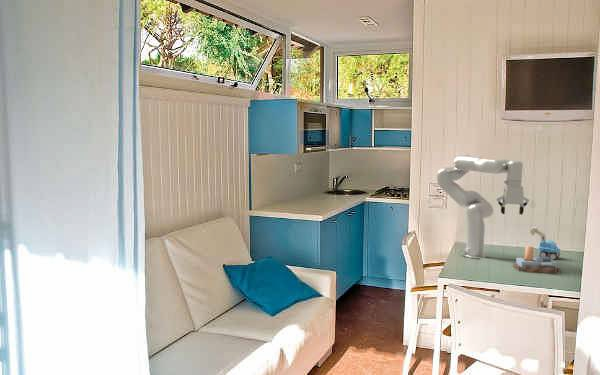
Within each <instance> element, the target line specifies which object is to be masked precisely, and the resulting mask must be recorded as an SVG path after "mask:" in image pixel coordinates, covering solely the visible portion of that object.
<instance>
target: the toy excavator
mask: <svg viewBox="0 0 600 375" xmlns="http://www.w3.org/2000/svg"><path fill="white" fill-rule="evenodd" d="M529 233H530V235H531V236H534V235H535V234H537V235H539V236H540V243H539V246H538V251H540V252H539V257H540V256H547V257H549V258H551V259H552V260H553V261H555V260H556V259H557V258H559V257H560V254H561V249H560V248H559V247H558V246H557V243H556V242H555V241H554V240H552V239H546V234H545V232H544V231H541V230H539V228H538V227H537V226H535V227H534V226H533V227H532V228H531V229H530V232H529Z"/></svg>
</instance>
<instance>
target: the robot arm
mask: <svg viewBox="0 0 600 375" xmlns="http://www.w3.org/2000/svg"><path fill="white" fill-rule="evenodd" d="M523 166H524V165H523V162H522V161H520V160H508V159H485V158H482V157H481V156H473V155H468V154H465V155H458V156H456V157H455V158H454V159H453V166H449V167H446V166H445V167H443V168H441V169H439V170H438V172H437V174H436V181H437V184H438V186H439V187H440V189H441V190H442V191H444V192H445V193H446V194H447V195H448V197H450V198H451V199H452V200H453V201H454V202H455V203H457V205H459V206H460V207H462V208H467V210H466V218H467V233H466V247H464V248H458V249H457V252H458V253H461V254H463V256H464V257H465V258H469V259H475V260H476V259H479V260H480V259H485V258H487V256H486V254H485V253H484V247H485V230H486V229H485V228H486V225H485V221H484V219H487V218H490V217H491V216H492V215H493V213H494V207H493V205H492V204H491V203H490V202H489V201H487V199H485V197H484V196H482V195H481V194H480V193H478V192H477V191H475V190H465V189H464V188H463V187H461V185H459V184H458V183H456V182H455V181H458V180H461V179H462V178H463V177H464V176H466V175H467V174H468V173H469V172H472V171H473V172H479V173H485V174H496V175H497V174H506V180H504V181H503V183H504V184H506V185H505V186H504V188H503V194H502V196H500V197H497V198H496V201H497V204H498V205H499V206H500V213H501V214H502V215H505V212H506V207H505V206H506V205H519V206H520V207H519V211H518V212H519V215H521V216H522V215H523V213H524V210H525V209H524V208H525V207H526V206H527V205H528V204H529V202H530V199H529V198H527V197H525V196H524V194H525V193H524V187H523V185H522V180H523ZM501 200H502V202H501Z"/></svg>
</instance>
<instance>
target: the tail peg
mask: <svg viewBox="0 0 600 375" xmlns="http://www.w3.org/2000/svg"><path fill="white" fill-rule="evenodd" d="M534 251H535V247H534V246H532V245H531V246H530V245H526V246H525V252H524V258H525V261H533V257H534Z"/></svg>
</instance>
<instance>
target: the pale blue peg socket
mask: <svg viewBox="0 0 600 375" xmlns="http://www.w3.org/2000/svg"><path fill="white" fill-rule="evenodd" d="M515 261H516V262H515V263H516V264H517V265H518V266H520V267H521V271H523V268H524V266H552V267H556V270H557V267H558V262H556V261H555V260H552V259H551V258H549V257H547V256H540V255H539V257H538V256H533V261H525V257H516V260H515Z"/></svg>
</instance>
